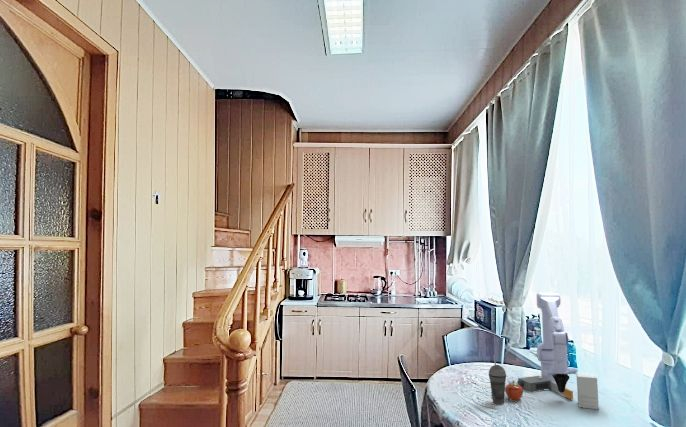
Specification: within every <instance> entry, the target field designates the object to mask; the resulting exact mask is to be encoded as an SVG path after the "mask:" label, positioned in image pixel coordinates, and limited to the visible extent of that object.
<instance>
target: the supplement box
mask: <svg viewBox="0 0 686 427" xmlns="http://www.w3.org/2000/svg"><path fill="white" fill-rule="evenodd" d="M575 375H576V387H577V388H576V389H577V403H578V407H579V408H581V407H583V408H584V409H590V410H591V409H592V410H599V409H600V408H599V407H600V404H599V392H598V391H599V389H598V376H597V375H596V373H593V372H582V371H581V372H580V371H577V372H576V374H575ZM583 408H582V409H583Z"/></svg>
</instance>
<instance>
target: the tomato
mask: <svg viewBox="0 0 686 427" xmlns="http://www.w3.org/2000/svg"><path fill="white" fill-rule="evenodd" d="M505 394H506V395H505V396H506V397H507V398H508V399H509V400H510V401H513V402H516V401H517V402H518V401H519V400H521V398H523V394H524V389H522V387H521V386H520V385H519V384H518V383H517V382H515V380H512V382H509V383H508V384H505Z"/></svg>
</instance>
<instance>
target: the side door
mask: <svg viewBox="0 0 686 427" xmlns="http://www.w3.org/2000/svg"><path fill="white" fill-rule="evenodd" d="M550 384H551V389H550V390H552V391H553V392H556V393H558V394H559V395H561V396H563V397H565V398H567V399H569V400H571V401H572V400H574V390H571V389H569V388H567V387H565V391H564V392H560V391H559V390H558V387H557V384H556V383H554V382H553V381H550Z"/></svg>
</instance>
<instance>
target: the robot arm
mask: <svg viewBox="0 0 686 427" xmlns="http://www.w3.org/2000/svg"><path fill="white" fill-rule="evenodd" d="M561 301H562V300H561V295H560V294H559V292H537V293H536V306H537V307H536V308H537V309H540V310H541V317H542V318H541V319H542V320H541V321H542V323H541V324H542V342H540V343H539V344H538V345H537V347H536V348H537V350H536V357H537V361H538V362H540V373H541V374H540V376H541V377H544V378H546V379H549V380H551V381H553V382H554V383H556V384H557V387H558V390H559V391H560V392H564V391H565V388H567V387H566V386H567V384H568V381H569V380H570V375H576V372H578V369H576V368H569V367H568V347H567V346H568V345H569V335H568V332H567V330H566V329H565V327H564V323H563V320H562V319H561V318H560V317H559V313H558V308H559V307H560V306H561Z"/></svg>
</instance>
